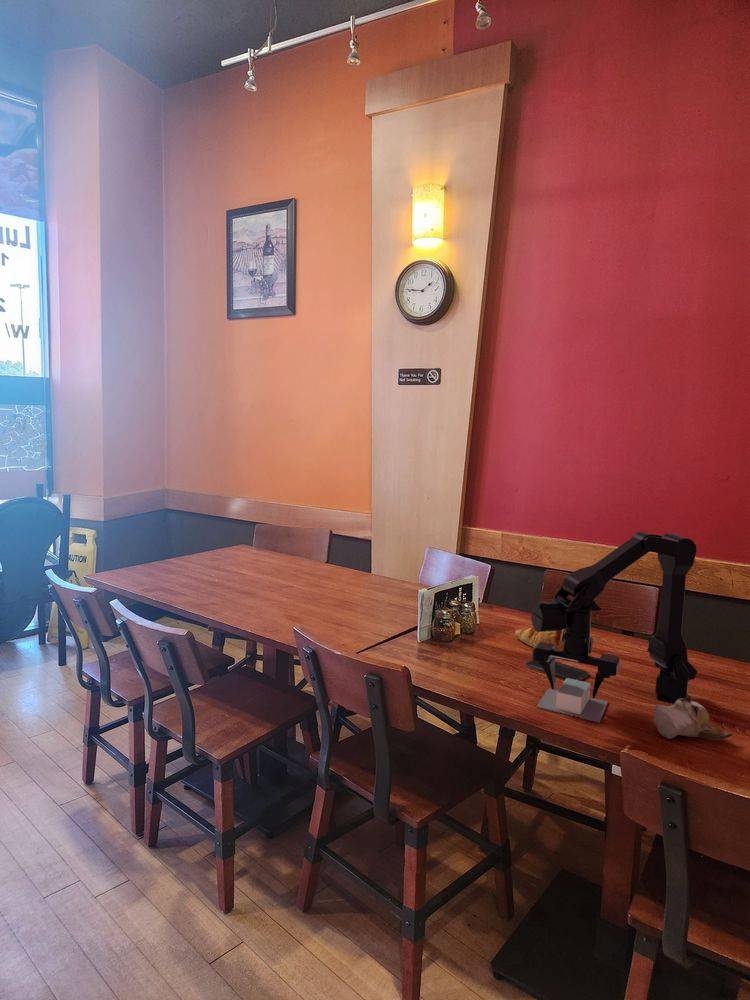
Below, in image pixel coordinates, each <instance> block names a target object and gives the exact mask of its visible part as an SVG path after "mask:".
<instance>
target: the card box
mask: <svg viewBox="0 0 750 1000" xmlns="http://www.w3.org/2000/svg"><path fill="white" fill-rule="evenodd" d="M557 690H558V691H557V697H556V709H560V710H564V711H568V712H572V713H576V714H581V712H582V711H583V709H584V707H585V706H586V704H587V702H588V700H589V697H590V694H591V693H590V692H591V682H586V681H583V680H581V681H578V680H573V679H569V678H566V680H563V682H562V684H561V685H560V687H559V688H558V689H557Z"/></svg>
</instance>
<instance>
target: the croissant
mask: <svg viewBox="0 0 750 1000" xmlns="http://www.w3.org/2000/svg"><path fill="white" fill-rule="evenodd" d="M514 635H515V636H516V638H517V639H519V640H520V641H521V642H522V643H524V644H526V645H528V646H530V647H532V648H533V649H534V648H535V647H536V646H537V644H538V643H540V642H543V643H549V644H554V645H555V650H560V651H563V644H564V642H562V635H563V630H561V631H545V632H536V631H535V629H534V628H533V626H532V627H530V628H529V627H523V628H521V629H516V630H515V632H514Z"/></svg>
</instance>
